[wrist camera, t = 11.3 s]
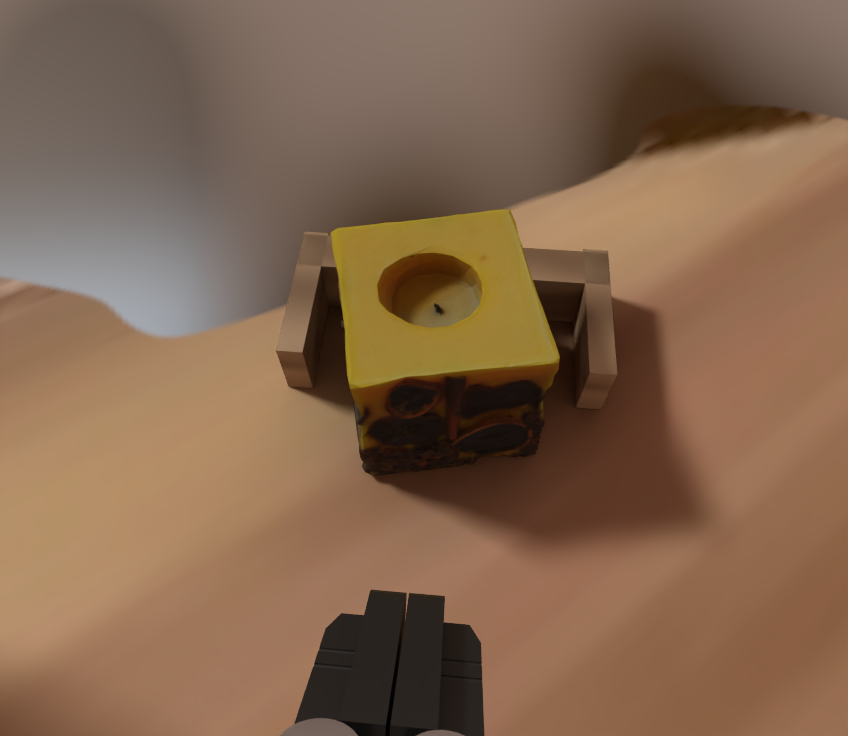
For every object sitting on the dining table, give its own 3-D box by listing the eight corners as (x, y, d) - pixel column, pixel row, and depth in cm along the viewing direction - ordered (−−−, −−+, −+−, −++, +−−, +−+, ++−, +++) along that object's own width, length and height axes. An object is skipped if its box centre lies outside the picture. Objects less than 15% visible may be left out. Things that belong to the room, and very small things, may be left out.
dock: (601, 409, 40) (617, 374, 37) (288, 386, 41) (276, 350, 38) (594, 290, 45) (607, 250, 41) (313, 272, 46) (304, 231, 42)
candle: (538, 457, 39) (569, 365, 30) (364, 482, 38) (345, 395, 29) (500, 315, 44) (518, 204, 35) (347, 335, 43) (328, 225, 35)
